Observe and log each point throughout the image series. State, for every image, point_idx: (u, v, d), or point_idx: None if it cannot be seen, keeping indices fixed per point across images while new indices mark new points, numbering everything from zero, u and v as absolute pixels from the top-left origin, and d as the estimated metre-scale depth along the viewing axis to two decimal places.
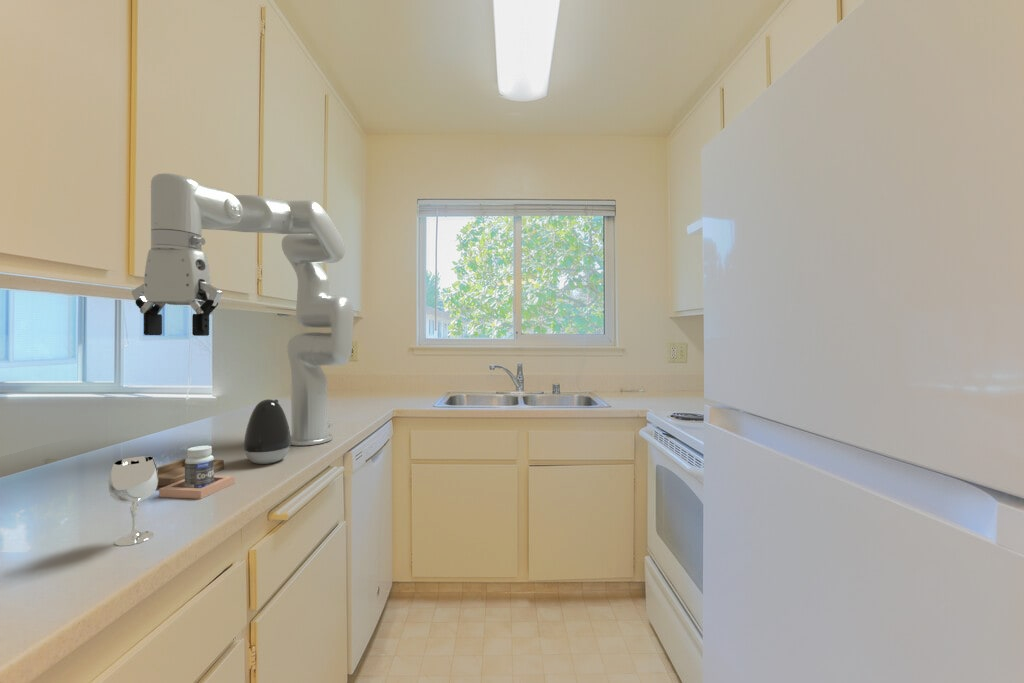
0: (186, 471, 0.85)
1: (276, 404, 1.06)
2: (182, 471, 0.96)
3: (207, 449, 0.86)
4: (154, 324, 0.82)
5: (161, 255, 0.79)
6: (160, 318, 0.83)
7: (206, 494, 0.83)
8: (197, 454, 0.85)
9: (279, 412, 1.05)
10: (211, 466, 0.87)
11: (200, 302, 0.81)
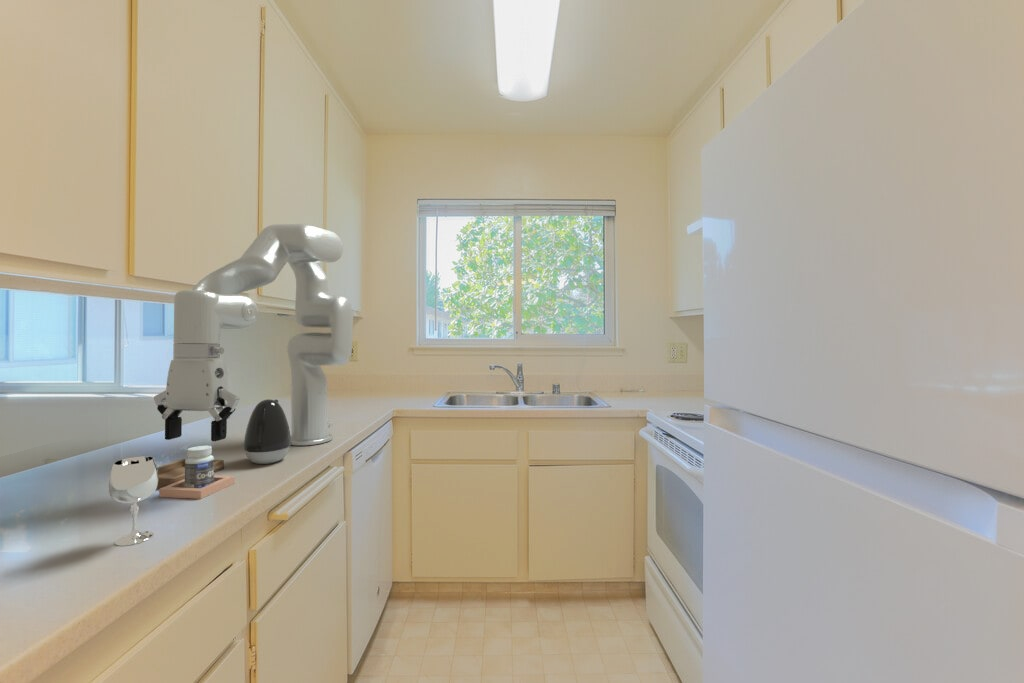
0: (186, 471, 0.85)
1: (276, 404, 1.06)
2: (182, 471, 0.96)
3: (207, 449, 0.86)
4: (174, 428, 0.86)
5: (182, 366, 0.84)
6: (180, 421, 0.88)
7: (206, 494, 0.83)
8: (197, 454, 0.85)
9: (279, 412, 1.05)
10: (211, 466, 0.87)
11: (218, 408, 0.86)
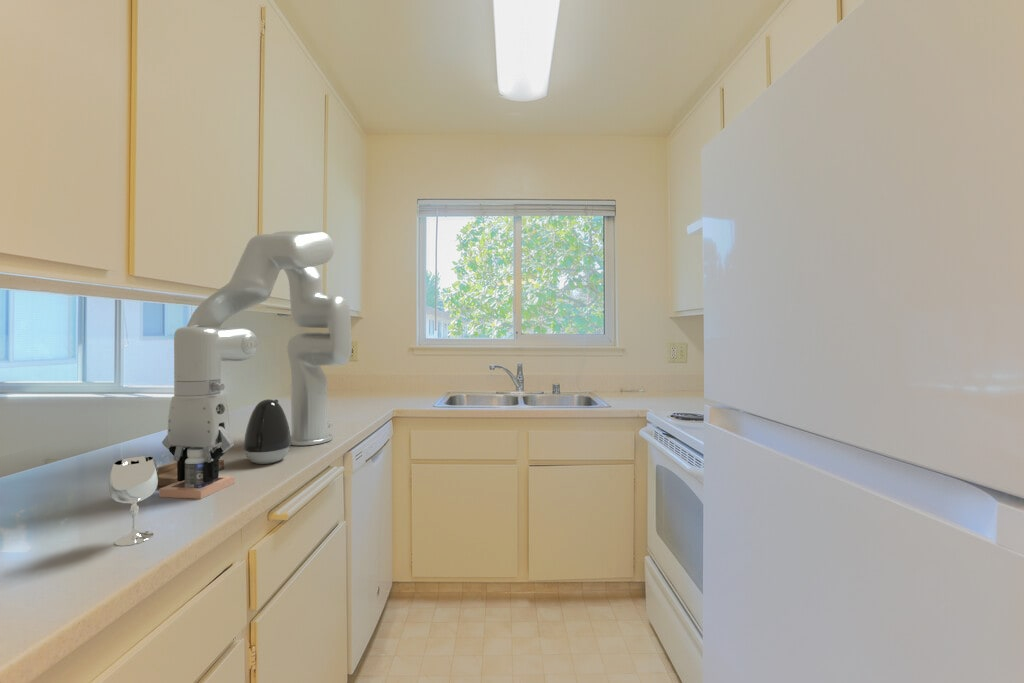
0: (186, 471, 0.85)
1: (276, 404, 1.06)
2: None
3: None
4: None
5: (184, 403, 0.84)
6: None
7: (206, 494, 0.83)
8: (196, 454, 0.85)
9: (279, 412, 1.05)
10: None
11: (214, 447, 0.87)
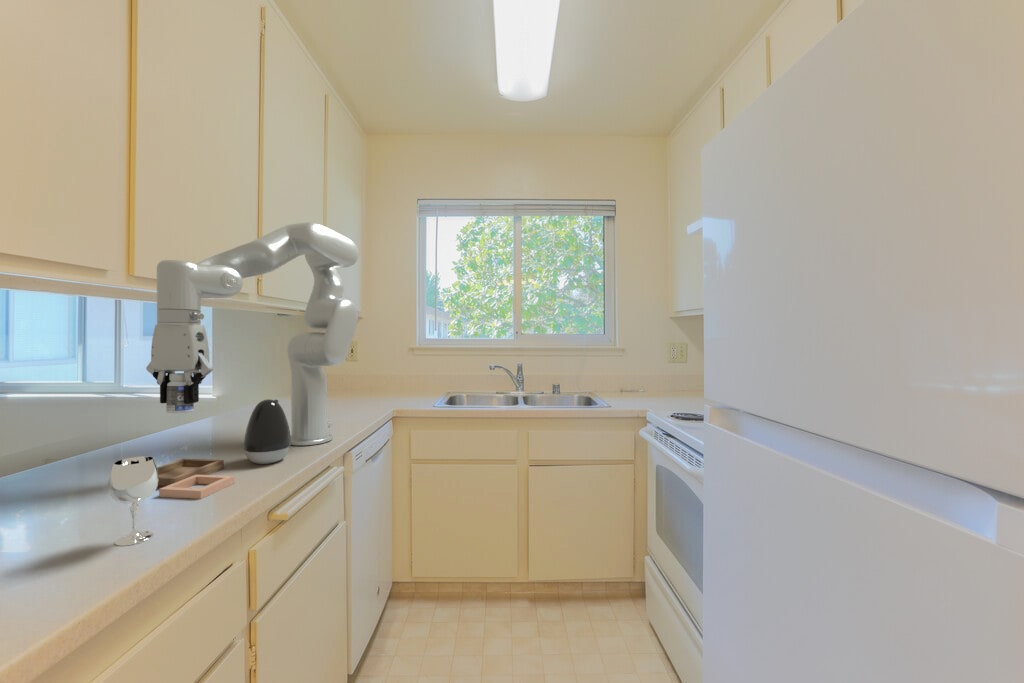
0: (168, 393, 0.92)
1: (276, 404, 1.06)
2: (182, 471, 0.96)
3: None
4: None
5: (165, 330, 0.91)
6: None
7: (206, 494, 0.83)
8: (178, 377, 0.92)
9: (279, 412, 1.05)
10: None
11: (194, 372, 0.94)
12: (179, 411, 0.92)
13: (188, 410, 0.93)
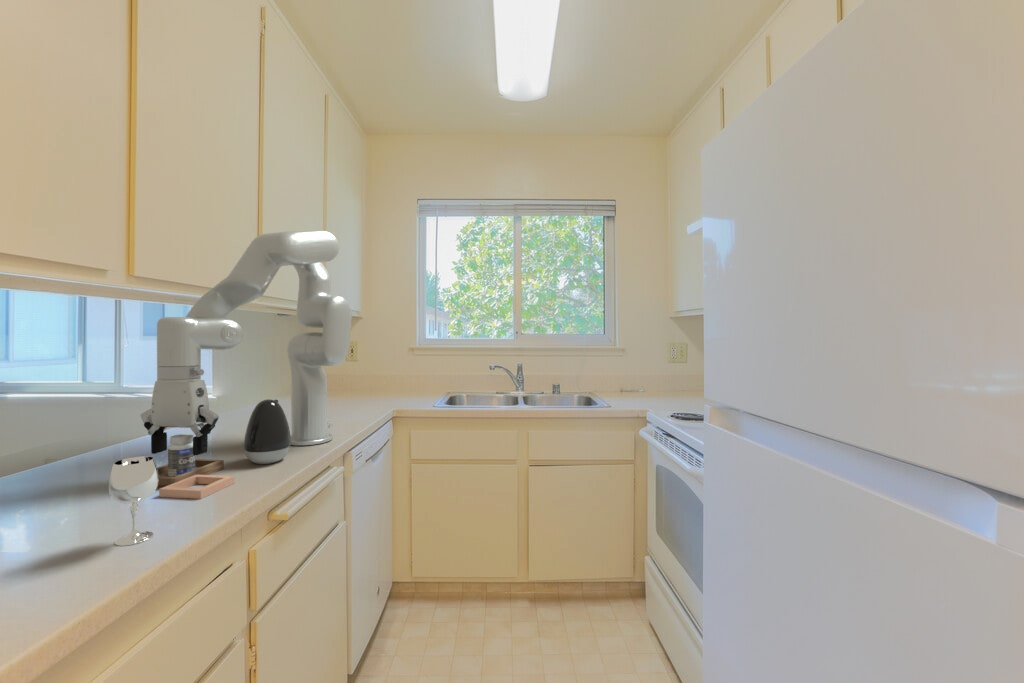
0: (169, 457, 0.92)
1: (276, 404, 1.06)
2: None
3: (189, 437, 0.94)
4: (160, 443, 0.94)
5: (166, 387, 0.91)
6: (165, 436, 0.95)
7: (206, 494, 0.83)
8: (179, 441, 0.92)
9: (279, 412, 1.05)
10: (192, 452, 0.94)
11: (199, 424, 0.94)
12: None
13: None
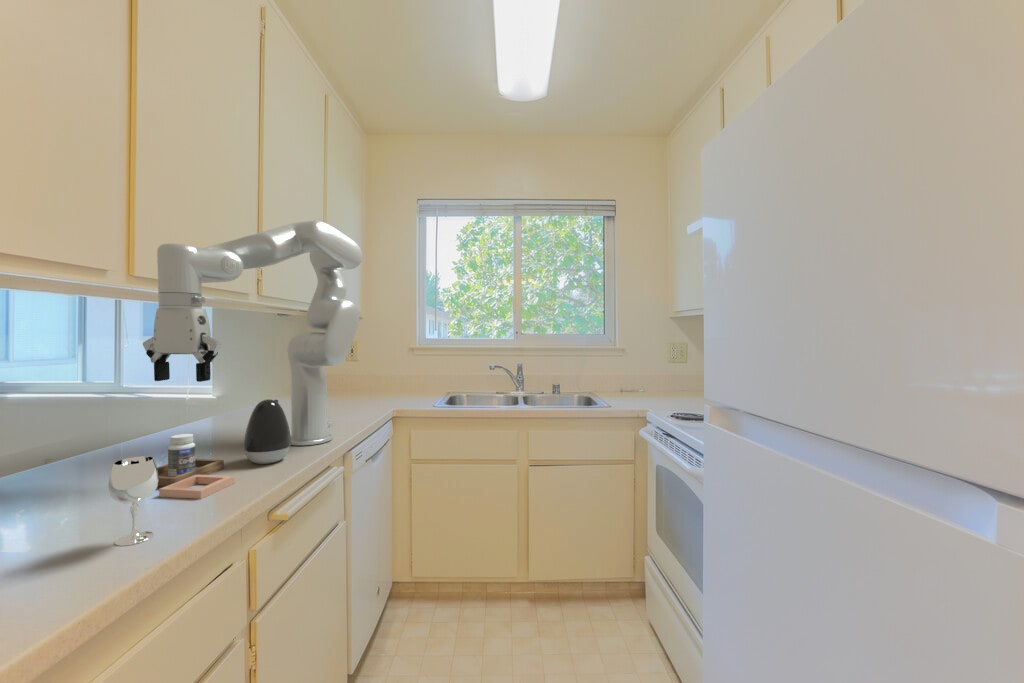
0: (169, 457, 0.92)
1: (276, 404, 1.06)
2: None
3: (189, 437, 0.94)
4: (163, 371, 0.95)
5: (167, 313, 0.92)
6: (168, 365, 0.96)
7: (206, 494, 0.83)
8: (179, 441, 0.92)
9: (279, 412, 1.05)
10: (192, 452, 0.94)
11: (202, 352, 0.95)
12: None
13: None
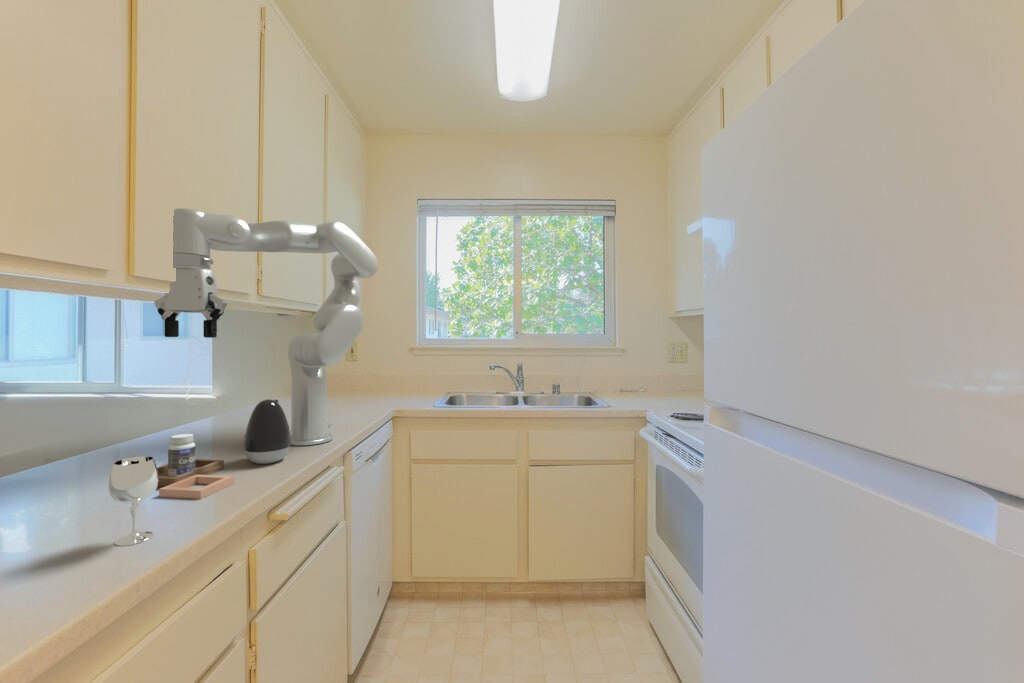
0: (169, 457, 0.92)
1: (276, 404, 1.06)
2: None
3: (189, 437, 0.94)
4: (172, 328, 1.02)
5: (178, 273, 0.99)
6: (177, 323, 1.03)
7: (206, 494, 0.83)
8: (179, 441, 0.92)
9: (279, 412, 1.05)
10: (192, 452, 0.94)
11: (209, 310, 1.01)
12: None
13: None
